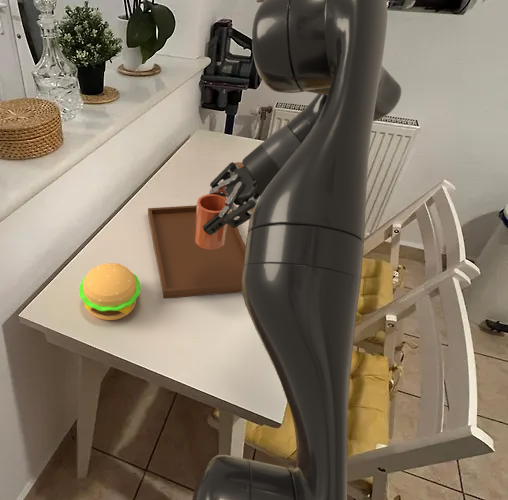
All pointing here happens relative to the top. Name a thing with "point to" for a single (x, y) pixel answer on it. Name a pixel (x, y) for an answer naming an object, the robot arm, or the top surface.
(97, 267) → the hamburger
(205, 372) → the top surface
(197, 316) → the top surface
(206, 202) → the reddish brown cup
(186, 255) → the tray
